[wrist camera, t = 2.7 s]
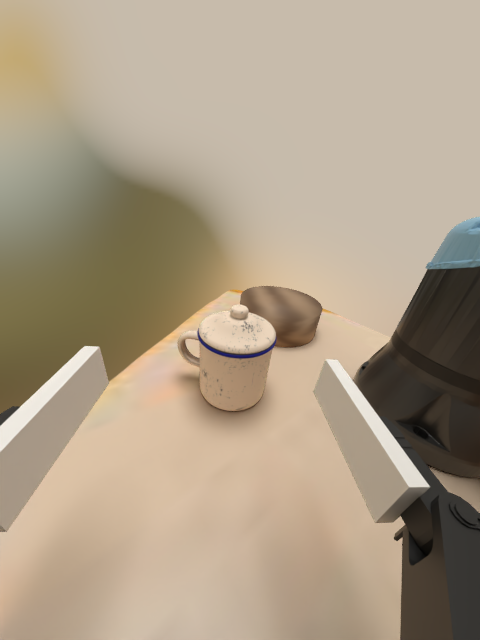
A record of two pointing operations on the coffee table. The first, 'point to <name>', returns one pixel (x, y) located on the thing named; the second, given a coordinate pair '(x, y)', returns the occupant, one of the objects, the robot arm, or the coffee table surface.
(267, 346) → the teacup with lid
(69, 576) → the coffee table surface
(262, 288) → the walnut riser
